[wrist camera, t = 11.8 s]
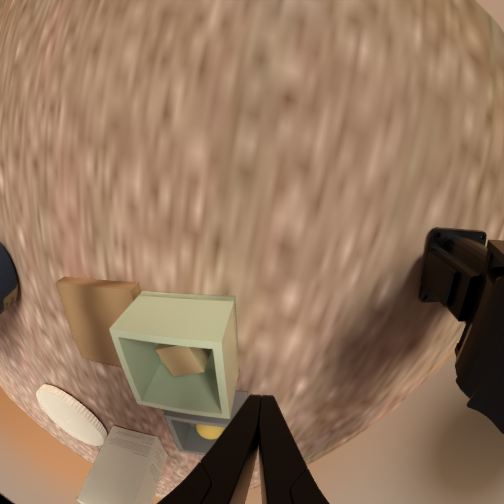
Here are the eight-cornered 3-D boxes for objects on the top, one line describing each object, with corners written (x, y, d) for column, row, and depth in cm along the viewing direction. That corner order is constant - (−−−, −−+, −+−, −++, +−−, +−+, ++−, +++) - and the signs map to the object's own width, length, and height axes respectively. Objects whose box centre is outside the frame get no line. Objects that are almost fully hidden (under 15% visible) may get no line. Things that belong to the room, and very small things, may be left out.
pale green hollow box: (235, 296, 22) (221, 342, 16) (239, 370, 25) (230, 418, 19) (142, 291, 23) (109, 328, 17) (159, 362, 25) (137, 403, 20)
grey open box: (247, 391, 26) (242, 425, 22) (248, 430, 28) (245, 459, 24) (176, 384, 26) (163, 414, 22) (188, 423, 29) (179, 450, 25)
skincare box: (125, 443, 34) (93, 512, 19) (111, 422, 32) (72, 497, 17) (170, 455, 33) (144, 533, 19) (160, 435, 31) (127, 523, 16)
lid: (141, 280, 23) (131, 290, 21) (159, 361, 26) (153, 373, 24) (67, 274, 24) (55, 282, 22) (90, 347, 27) (81, 357, 25)
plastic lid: (102, 443, 36) (98, 453, 34) (43, 401, 35) (37, 409, 32) (116, 420, 32) (110, 432, 30) (43, 366, 30) (35, 376, 28)
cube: (196, 322, 22) (186, 343, 19) (211, 349, 23) (204, 372, 20) (167, 329, 23) (155, 349, 20) (183, 354, 24) (173, 376, 21)
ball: (226, 408, 26) (221, 431, 23) (228, 424, 27) (224, 446, 24) (197, 405, 26) (190, 427, 23) (201, 421, 27) (195, 442, 24)
